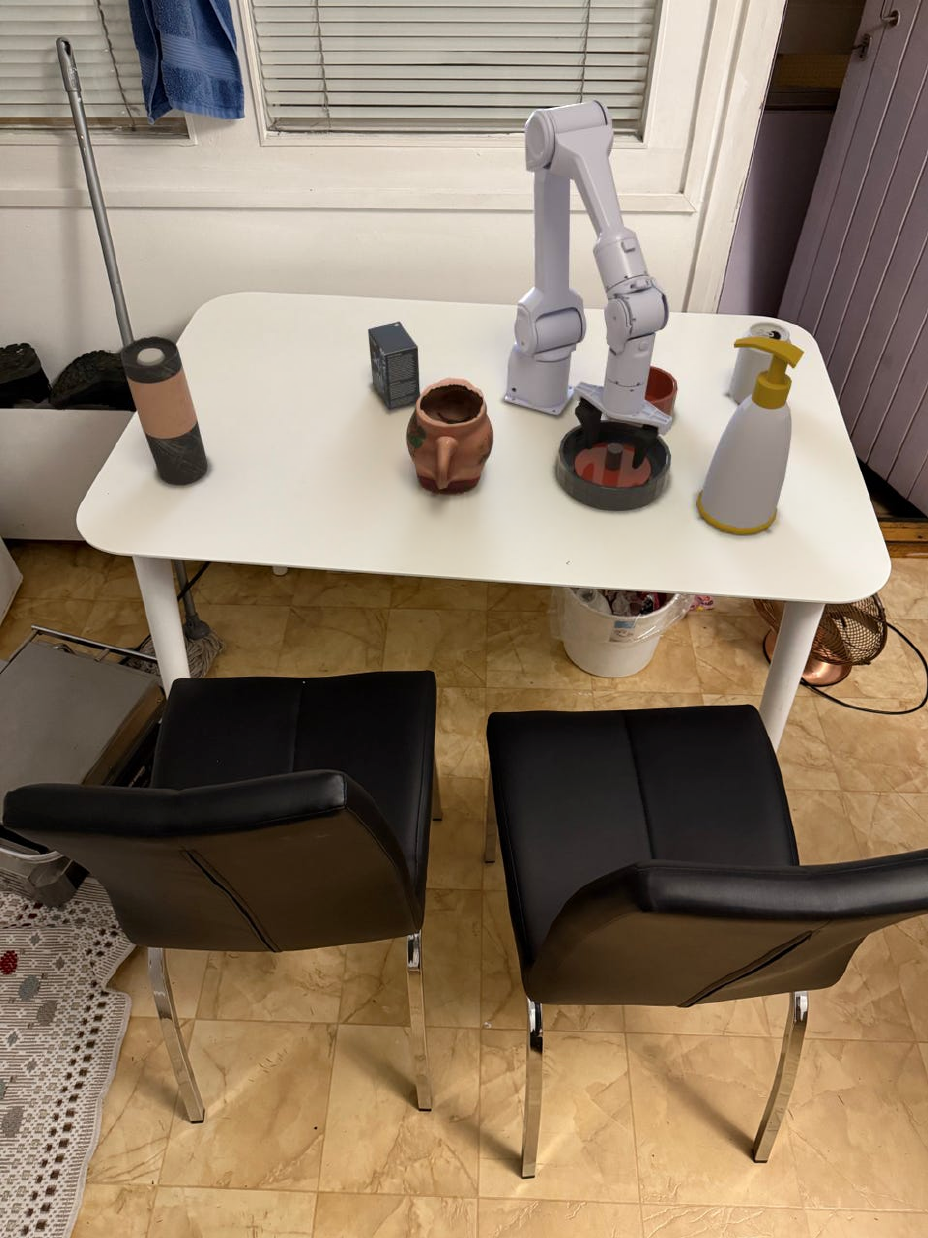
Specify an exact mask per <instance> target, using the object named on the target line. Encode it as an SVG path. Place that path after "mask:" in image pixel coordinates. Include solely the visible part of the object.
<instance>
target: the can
mask: <svg viewBox="0 0 928 1238" xmlns="http://www.w3.org/2000/svg"><path fill="white" fill-rule="evenodd" d="M747 329H748V330H747V331H745V332H744V333H743V334H742V337H741V338H746V337H758V336H760V337H766V338H772V339H777V340H781V341H785V342H787V343H790V344H792V341H791V339H790V336H791V335H790V331H789V330H788V329H787V328H786V327H785V326H783V325H781V324H779V323H776V322H771V321H759V322H755V323H753V324H751V325H750V326H749V327H748V328H747ZM772 357H773V354H770V353H767V352H764V351H762V350H759V349H755V348H747V347H741V348H738V352H737V355H736V360H735V363H734V367H733V372H732V376H731V379H730V383H729V387H728V393H729V396H730V397H731V398H732V399H733V401H735V403H737V404H739V405H740V404H741V403H742V402H743V400H745V399H746V398H747V397H748V396H750V395H751V394H752V393H753V390H754V387H755V383H756V379H757V376H758V374H759V373H761V372H763V371H766V370H769V368H770V364H771V361H772Z"/></svg>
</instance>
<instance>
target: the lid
mask: <svg viewBox="0 0 928 1238" xmlns="http://www.w3.org/2000/svg"><path fill="white" fill-rule="evenodd" d="M634 452H635V449H634V448H632V447H630V446H627V445H624V444H619V443H599V444H595V445H594V446H593V447H592V448H591V449H590V450H589V449H587V448H585V449H583V450H582V451H581V452H580V453H579V454H578V455H577V457H576V459H575V463H574V469H575V473H576V474H577V475H579V476H581V477H583V478H584V479H586V480H588V481H590V482H594V483H597V484H600V485H605V486H613V487H631V486H635V485H640V484H644V483H646V482H647V481H648V479H649V477H650V473H651V466H650V463H649V461H648V459H647V458H646V457H645V458H644V461H643V463H642V464H641V465H640V466H639V467H638V468H637V469H634V468H632V462H633V457H634Z"/></svg>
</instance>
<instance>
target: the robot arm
mask: <svg viewBox="0 0 928 1238" xmlns="http://www.w3.org/2000/svg"><path fill="white" fill-rule="evenodd" d="M614 137H615V133H614V130H613V120H612V115H611V112H610V110H609V108H608V107H607V105H606V103H605V102H604V101H602V99H596V98H595V99H591V100H590V101H587V102H580V103H574V104H570V105H563V106H557V107H551V108H547V109H539V108H538V109H535V110H534V111H533V112H532V113H531V114H530V115H529V117H528V119H527V120H526V122H525V123H524V160H525V171H526V172H528V173H532V192H533V193H532V194H533V195H532V197H533V201H532V202H533V204H532V205H533V206H532V207H533V208H532V209H533V274H534V286H533V287H532V288H531V289H530V290H529V291H528V292H527V293H526V294H525V295H524V296H523V297H522V298H521V299H520V300H519V301H518V302H517V304H516V305H517V307H516V318H515V321H514V326H513V327H514V328H513V329H514V330H513V331H514V338H515V343H514V345H513V346H512V348H511V351H510V354H509V357H508V362H507V364H508V365H507V379H506V380H507V381H506V395H505V397H504V401H505V402H507V403H511V404H514V405H517V406H521V407H525V408H527V409H532V410H536V411H539V412H542V413H544V414H545V413H546V414H549V415H552V416H557V417H558V416H560V415H561V413H562V412H563V411H564V409H565V407H566V406H567V405H568V404H569V401H571V399H573V401H576V402H578V405H577V406H575V408H574V415H575V417H576V418H577V420H578V422H579V425H581V426H582V429H583V433H584V437H585V442H586V448H587V449H589V450H590V449H591V448H592V447H593V446H594V445H595V444H596V443H597V441H598V437H599V429H600V422H601V420H602V417H603V414H604V415H606V416H607V417H608V416H609V417H611V418H614V419H619V420H625V421H631V422H637V423H642V424H643V426H642V427H641V428H640V429H639V430H638V431H637V432H636V433H635V434H634V440H635V452H634V457H633V462H632V468H634V469H637V468H638V467H639V466H640V465H641V464H642V463H643V461H644V458H645V456H646V454H647V452H648V450H649V448H650V446H651V445H652V443H653V442H654V440H655V439H656V438H657V436H660V435H661V436H666V434H667V433H668V432H669V431H670V430H671V428H672V425H673V417H674V416H672V417H671V416H668V415H666V414H665V413H663V412H661V411H660V410H659V409H657V408H656V407H655V406H653V405H652V404H650V403H649V402H648V401H646V400H645V399H644V398H645V392H646V386H647V381H648V375H649V370H650V366H651V363H652V358H653V353H654V347H655V342H656V335H657V332H659V331H662V330H664V329H665V328H666V327H667V324H668V322H669V318H670V305H669V300H668V295H667V294H666V291H665V289H663V287H662V286H661V285H659V284H658V282H657V279H656V278H655V277H654V276H650V273H649V270H648V267H647V265H646V261H645V258H644V255H643V252H642V251H643V250H642V248H641V244H640V242H639V239H638V236H637V233H636V232H635V230H634V231H633V230H632V229H630V228H628V227H626V226H625V225H624V219H623V215H622V212H621V211H622V210H621V206H620V202H619V198H618V193H617V189H616V185H615V179H614V175H613V172H612V167H611V162H610V158H609V157H610V155H611V153H612V149H613V145H614ZM571 181H573V182H574V184H575V187H576V189H577V191H578V193H579V196H580V199H581V201H582V203H583V206H584V208H585V211H586V213H587V215H588V217H589V220H590V222H591V225H592V228H593V230H594V233H595V234H596V240H595V242H594V245H593V247H592V254H593V257H594V260H595V263H596V266H597V270H598V273H599V276H600V279H601V282H602V285H603V288H604V291H605V295H606V298H607V304H606V305H605V306H604V309H603V311H604V312H603V315H604V316H603V317H604V323H605V326H606V337H605V339H606V345H607V346H608V353H607V361H606V365H605V366H606V368H605V375H604V382H603V385H597V384H591V383H587V382H584V381H579V383H577V384H576V385H575V387H574V386H571V385H569V382H570V372H571V362H572V353H573V352H576V351H577V345H578V344H580V343H582V342H583V341H584V339H585V336H586V333H587V319H586V314H585V311H584V309H585V308H584V299H583V297H582V296H581V295H580V294H579V293H578V292H577V291H575V290H574V289H573V288H571V287H570V246H571V245H570V242H571V241H570V238H571V237H570V233H571V231H570V230H571V228H570V227H571Z"/></svg>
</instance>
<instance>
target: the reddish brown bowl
mask: <svg viewBox="0 0 928 1238" xmlns="http://www.w3.org/2000/svg"><path fill="white" fill-rule="evenodd" d="M678 390H679V387H678V381H677V380H676V379H675V377H674V376H673V375H672V374H671V373H670V372H668V371H666V370H664V369H663V368H661V367H657V366H653V365H650V370H649V375H648V381H647V386H646V392H645V398H644V399H645V400H646V401H648V402H649V403H650V404H652V405H653V406H655V407H656V408H657V409H659V410H660V411H661V412H663V413H665V414H666V415H668V416H671V417H673V415H674V410H675V405H676V399H677V395H678ZM607 418H608V420H610V419H612V420H619V419H614V418H611V417H609V416H607ZM622 421H625V420H622ZM628 422H631V421H628ZM632 423H635V424H639V425H641V426H643V424H642V423H637V422H632Z"/></svg>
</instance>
